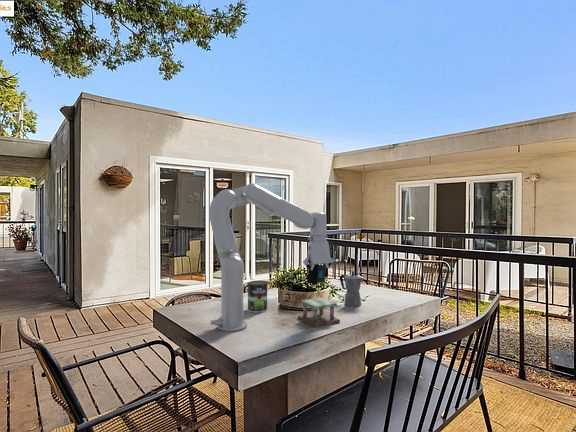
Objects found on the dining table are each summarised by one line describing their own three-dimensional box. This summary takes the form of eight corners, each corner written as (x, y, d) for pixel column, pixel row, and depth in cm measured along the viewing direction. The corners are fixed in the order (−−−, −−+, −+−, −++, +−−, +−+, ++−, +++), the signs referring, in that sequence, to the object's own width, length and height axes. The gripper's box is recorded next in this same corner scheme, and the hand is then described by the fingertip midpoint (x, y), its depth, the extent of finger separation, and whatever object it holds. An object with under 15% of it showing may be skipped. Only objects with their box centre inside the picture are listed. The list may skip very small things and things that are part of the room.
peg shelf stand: (313, 327, 149) (313, 307, 149) (297, 318, 161) (297, 300, 161) (339, 322, 155) (339, 303, 155) (322, 314, 168) (322, 297, 168)
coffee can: (269, 311, 173) (269, 284, 173) (249, 313, 170) (249, 285, 170) (265, 306, 183) (265, 280, 183) (246, 308, 180) (246, 281, 180)
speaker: (314, 284, 152) (315, 261, 153) (306, 283, 157) (307, 260, 158) (327, 284, 157) (328, 261, 158) (319, 283, 161) (320, 260, 162)
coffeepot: (368, 305, 186) (368, 272, 186) (358, 308, 179) (357, 274, 179) (345, 300, 197) (344, 268, 197) (334, 303, 190) (334, 270, 190)
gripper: (306, 240, 151) (306, 280, 151) (338, 239, 159) (338, 277, 159) (298, 239, 157) (298, 278, 158) (329, 238, 165) (329, 275, 165)
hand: (318, 277), depth 158 cm, fingers closed on speaker, 6 cm apart
